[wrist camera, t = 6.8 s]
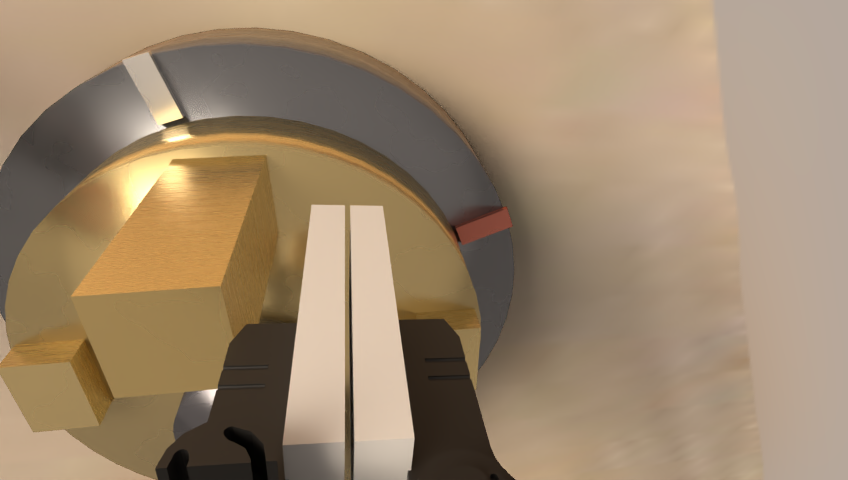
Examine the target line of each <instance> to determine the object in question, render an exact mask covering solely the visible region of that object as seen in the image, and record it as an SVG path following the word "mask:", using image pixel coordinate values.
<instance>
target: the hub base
mask: <svg viewBox="0 0 848 480" xmlns="http://www.w3.org/2000/svg"><path fill="white" fill-rule="evenodd" d="M228 116H266V117H275V118H282V119H288V120H295V121H301V122H305V123H309V124H312V125H316V126H320V127H323V128H327V129H330V130H333V131H336V132H338V133H341V134H343V135H346V136H348V137H350V138H353V139H355V140H358V141H360V142H362V143H364V144H366V145H367V146H369V147H371V148H373V149H374V150H376V151H378V152H380V153H381V154H383V155H385V156H387V157H388V158H389V159H391V160H392V161H393V162H395V163H396V164H397V165H399V166H400V167H401V168H403V169H404V170H405V171H407V172H408V173H409V174H410V175H411V176H412V177H413V178H414V179H415V180H416V181H417V182H418V183H419V184H420V185H421V186H422V187H423V188H424V189H425V190H426V191H427V192H428V193H429V194H430V195H431V197H432V198H433V199H434V201H435V202H436V203H437V205H438V206H439V207H440V209H441V210H442V211H443V213H444V215H445V216H446V218H447V220H448V222H449V224H450V226H451V228H452V229H453V231H454V233H455V236H456V239H457V241H458V244H459V247H460V250H461V253H462V255H463V258H464V261H465V264H466V267H467V270H468V272H469V275H470V278H471V281H472V284H473V287H474V289H475V292H476V295H477V300H478V306H479V311H480V317H481V341H480V347H479V360H478V370H479V369H480V368H481V366H482V365H483V364H484V362H485V361H486V359H487V357H488V356H489V354H490V352H491V351H492V349H493V347H494V345H495V344H496V342H497V340H498V337H499V335H500V333H501V330H502V328H503V325H504V323H505V320H506V317H507V313H508V309H509V305H510V301H511V297H512V289H513V278H514V259H513V245H512V239H511V235H510V231H509V228H510V227H512V226H513V225H512V222H511V219H510V216H509V213H508V209H507V207H506V206H505V207H502V205H501V202H500V200H499V197H498V195H497V192H496V190H495V188H494V186H493V184H492V182H491V181H490V179H489V177H488V175H487V174H486V172H485V170H484V168H483V167H482V165H481V163H480V161H479V160H478V158H477V156H476V154H475V153H474V151H473V149H472V148H471V146H470V144H469V143H468V141H467V139H466V138H465V136H464V134H463V133H462V131H461V130H460V129H459V128H458V126H457V125H456V124H455V123H454V121H453V120H452V119H451V118H450V116H449V115H448V114H447V113H446V112H445V110H444V109H443V108H442V107H441V106H440V105H439V104H437V103H436V102H435V101H434V100H433V99H432V98H431V97H430V96H429V95H428V94H427V93H426V92H425V91H424V90H423V89H421V88H420V87H419V86H417V85H416V84H415V83H413V82H412V81H410V80H409V79H408V78H406V77H405V76H403V75H402V74H401V73H399V72H398V71H396V70H395V69H394V68H392V67H390V66H388V65H386V64H384V63H382V62H380V61H379V60H377V59H375V58H373V57H371V56H369V55H367V54H365V53H363V52H361V51H358V50H356V49H353V48H350V47H348V46H345V45H342V44H339V43H337V42H334V41H331V40H329V39H324V38H320V37H316V36H311V35H307V34H303V33H298V32H294V31H285V30H275V29H264V28H234V29H216V30H210V31H205V32H199V33H194V34H188V35H183V36H179V37H176V38H173V39H170V40H167V41H164V42H161V43H158V44H155V45H152V46H149V47H146V48H144V49H143V50H141V51H139V52H137V53H135V54H133V55H131V56H129V57H127V58H125V59H123V60H121V61H119V62H117V63H116V64H114V65H112V66H111V67H109V68H107V69H105V70H104V71H102V72H100V73H99V74H97V75H95V76H94V77H92V78H90V79H89V80H87V81H85V82H84V83H82V84H80V85H79V86H77V87H76V88H74V89H73V90H72V91H70V92H69V93H68V94H66V95H65V96H64V97H62V98H61V99H60V100H58V101H57V102H56V103H54V104H53V105H52V106H50V107H49V108H48V109H46V110H45V111H44V112H43V113H42V115H41V116H40V117H39V118H38V119H37V120H36V121H35V122H34V123H33V124H32V125H31V126H30V127H29V128H28V129H27V131H26V132H25V133H24V134H23V135H22V136H21V137H20V139H19V141H18V142H17V144H16V145H15V147H14V148H13V150H12V152H11V153H10V155H9V156H8V158H7V159H6V161H5V162H4V164H3V166H2V169H1V171H0V312H1V315H2V317H3V318H4V320H5V322H6V315H5V303H6V296H7V289H8V283H9V279H10V276H11V273H12V270H13V268H14V265H15V262H16V259H17V257H18V255H19V253H20V251H21V250H22V248H23V246H24V245H25V243H26V241H27V240H28V238H29V236H30V235H31V233H32V231H33V230H34V229H35V228H36V227H37V226H38V225H39V224H40V222H41V221H42V220H43V219H44V218H45V217H46V216H47V215H48V214H49V212H50V211H51V210H52V209H53V208H54V207H55V206H56V205H57V204H58V203H59V202H60V201H61V200H62V199H63V198H64V197H66V196H67V195H68V194H69V193H70V192H71V191H72V190H73V189H74V188H75V187H76V186H77V185H78V184H79V183H80V182H81V181H82V180H83V179H84V178H85V177H86V176H87V175H88V174H89V173H90V172H91V171H92V170H94V169H95V168H96V167H97V166H99V165H100V164H101V163H103V162H104V161H105V160H106V159H108V158H109V157H110V156H111V155H113V154H114V153H115V152H117V151H119V150H120V149H122V148H124V147H126V146H128V145H129V144H131V143H133V142H135V141H136V140H138V139H140V138H142V137H144V136H147V135H150V134H152V133H155V132H157V131H160V130H163V129H165V128H168V127H171V126H175V125H179V124H183V123H187V122H192V121H196V120H200V119H207V118H217V117H228ZM273 323H285V322H282V321H279V320H274V319H267V318H260V320H259V324H273ZM216 390H218V389H212V390H201V391H190V392H184V394H183V397H182V400H181V402H180V405H179V408H178V411H177V414H176V417H175V420H174V425H173V433H174V438H175V440H177V439H178V438H179V437H180V436H181V435H183V434H184V433H186V432H188V431H190V430H192V429H194V428H196V427H198V426H200V425H202V424H204V423H206V422H208V418H209V415H210V411H211V407H212V404H213V400H214V397H215V393H216Z"/></svg>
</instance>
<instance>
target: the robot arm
mask: <svg viewBox="0 0 848 480" xmlns="http://www.w3.org/2000/svg"><path fill="white" fill-rule="evenodd" d="M349 359H350V455H351V480H515V479H514V478H513V477H512V476H511V475H510V474H508V473H507V471H506V470H505V469H504V468H503V467H502V466H501V465H500V464H499V462H498V461H497V460H496V458H495V456H494V454H493V451H492V449H491V447H490V443H489V440H488V436H487V433H486V429H485V426H484V422H483V419H482V415H481V411H480V408H479V404H478V401H477V397H476V394H475V390H474V387H473V383H472V379H470V372H469V369H468V365H467V362H466V361H465V354H464V351H463V347H462V344H461V340H460V337H459V335H458V334H457V333H456V332H455V331H454V330H453V329H452V327H451V326H450V325H449V324H448V323H447V322H446V321H445V319H405V320H398V313H397V306H396V299H395V291H394V284H393V277H392V269H391V262H390V255H389V247H388V240H387V233H386V226H385V218H384V211H383V206H361V205H350V256H349ZM344 470H345V205H311V214H310V222H309V230H308V238H307V247H306V255H305V263H304V271H303V280H302V288H301V296H300V304H299V313H298V321H297V323H273V324H246V325H245V326H244V327H243V329H242V330H241V331H240V332H239V333H238V334H237V335H236V336H235V338H234V339H233V340H232V341H231V342H230V343H229V347H228V350H227V354H226V357H225V361H224V364H223V371H222V372H221V375H220V379H219V382H218V390H216V393H215V397H214V400H213V404H212V407H211V411H210V415H209V418H208V422H206V423H204V424H202V425H200V426H198V427H196V428H194V429H192V430H190V431H188V432H186V433H184V434H183V435H181V436H180V437H179V438H178V439H177V440H176V441H175V442H174V443H173V444H171V445H170V446H169V447H168V448H167V449H166V450H165V452H164V454H163V456H162V457H161V459H160V461H159V463H158V464H157V466H156V468H155V471H156V474H157V478H158V480H344Z"/></svg>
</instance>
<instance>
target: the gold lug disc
mask: <svg viewBox="0 0 848 480" xmlns="http://www.w3.org/2000/svg"><path fill="white" fill-rule="evenodd" d="M311 205H345V470H344V480H351V455H350V359H349V256H350V205H361V206H383V211H384V218H385V226H386V233H387V240H388V247H389V255H390V262H391V269H392V277H393V284H394V291H395V299H396V306H397V313H398V320H405V319H445V321H446V322H447V323H448V324H449V325H450V326H451V327H452V329H453V330H454V331H455V332H456V333H457V334H458V335H459V337H460V340H461V344H462V347H463V351H464V354H465V361H466V362H467V365H468V369H469V372H470V379H472V383H473V387H474V390H476V387H477V373H478V360H479V347H480V341H481V317H480V311H479V306H478V300H477V295H476V292H475V289H474V287H473V284H472V281H471V278H470V275H469V272H468V270H467V267H466V264H465V261H464V258H463V255H462V253H461V250H460V247H459V244H458V241H457V239H456V236H455V233H454V231H453V229H452V228H451V226H450V224H449V222H448V220H447V218H446V216H445V215H444V213H443V211H442V210H441V209H440V207H439V206H438V205H437V203H436V202H435V201H434V199H433V198H432V197H431V195H430V194H429V193H428V192H427V191H426V190H425V189H424V188H423V187H422V186H421V185H420V184H419V183H418V182H417V181H416V180H415V179H414V178H413V177H412V176H411V175H410V174H409V173H408V172H407V171H405V170H404V169H403V168H401V167H400V166H399V165H397V164H396V163H395V162H393V161H392V160H391V159H389V158H388V157H387V156H385V155H383V154H381V153H380V152H378V151H376V150H374V149H373V148H371V147H369V146H367V145H366V144H364V143H362V142H360V141H358V140H355V139H353V138H350V137H348V136H346V135H343V134H341V133H338V132H336V131H333V130H330V129H327V128H323V127H320V126H316V125H312V124H309V123H305V122H301V121H295V120H288V119H282V118H275V117H266V116H228V117H217V118H207V119H200V120H196V121H192V122H187V123H183V124H179V125H175V126H171V127H168V128H165V129H163V130H160V131H157V132H155V133H152V134H150V135H147V136H144V137H142V138H140V139H138V140H136V141H135V142H133V143H131V144H129V145H128V146H126V147H124V148H122V149H120V150H119V151H117V152H115V153H114V154H113V155H111V156H110V157H109V158H108V159H106V160H105V161H104V162H103V163H101V164H100V165H99V166H97V167H96V168H95V169H94V170H92V171H91V172H90V173H89V174H88V175H87V176H86V177H85V178H84V179H83V180H82V181H81V182H80V183H79V184H78V185H77V186H76V187H75V188H74V189H73V190H72V191H71V192H70V193H69V194H68V195H67V196H66V197H64V198H63V199H62V200H61V201H60V202H59V203H58V204H57V205H56V206H55V207H54V208H53V209H52V210H51V211H50V212H49V214H48V215H47V216H46V217H45V218H44V219H43V220H42V221H41V222H40V224H39V225H38V226H37V227H36V228H35V229H34V230H33V231H32V233H31V235H30V236H29V238H28V240H27V241H26V243H25V245H24V246H23V248H22V250H21V251H20V253H19V255H18V257H17V259H16V262H15V265H14V268H13V270H12V273H11V276H10V279H9V283H8V289H7V296H6V303H5V315H6V332H7V336H8V340H9V344H10V348H11V351H10V352H9V353H8V354H7V356H6V357H5V358H4V359H3V361H2V362H1V363H0V375H1V377H2V378H3V380H4V382H5V384H6V385H7V387H8V389H9V391H10V392H11V394H12V396H13V398H14V399H15V401H16V403H17V405H18V406H19V408H20V410H21V412H22V413H23V415H24V417H25V419H26V420H27V422H28V424H29V425H30V427H31V429H32V431H33V432H42V431H52V430H62V429H65V430H66V431H67V432H68V433H69V434H71V435H72V436H73V437H74V438H76V439H77V440H79V441H80V442H82V443H83V444H84V445H86V446H87V447H89V448H90V449H91V450H93V451H95V452H96V453H98V454H100V455H102V456H103V457H105V458H107V459H109V460H111V461H112V462H114V463H116V464H118V465H120V466H123V467H125V468H127V469H130V470H132V471H134V472H136V473H139V474H141V475H144V476H147V477H150V478H153V479H156V480H158V478H157V474H156V471H155V468H156V466H157V464H158V463H159V461H160V459H161V457H162V456H163V454H164V452H165V450H166V449H167V448H168V447H169V446H170V445H171V444H173V443H174V442H175V441H176V440H175V438H174V433H173V425H174V420H175V417H176V414H177V411H178V408H179V405H180V402H181V400H182V397H183V394H184V392H190V391H201V390H212V389H218V382H219V379H220V375H221V372H222V371H223V364H224V361H225V357H226V354H227V350H228V347H229V343H230V342H231V341H232V340H233V339H234V338H235V336H236V335H237V334H238V333H239V332H240V331H241V330H242V329H243V327H244V326H245V325H246V324H259V320H260V318H267V319H274V320H279V321H282V322H285V323H297V321H298V313H299V304H300V296H301V288H302V280H303V271H304V263H305V255H306V247H307V238H308V230H309V222H310V214H311Z"/></svg>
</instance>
